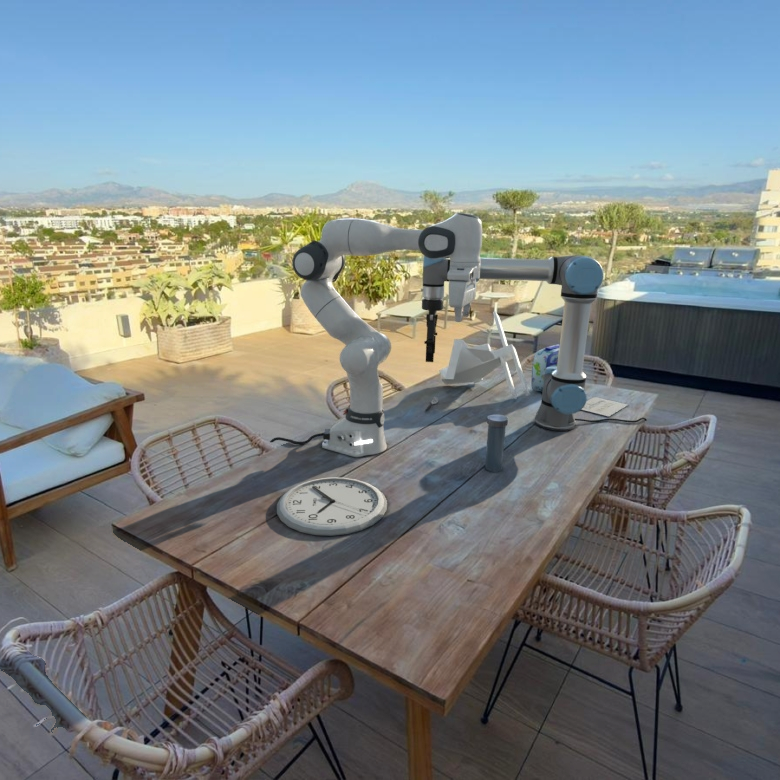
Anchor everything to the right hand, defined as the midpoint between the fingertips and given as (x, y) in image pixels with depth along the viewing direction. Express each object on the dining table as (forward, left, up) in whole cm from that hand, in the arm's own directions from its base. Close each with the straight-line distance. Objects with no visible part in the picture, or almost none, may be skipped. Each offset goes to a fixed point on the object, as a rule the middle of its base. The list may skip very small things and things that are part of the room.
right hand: (430, 357), depth 190 cm
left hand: (-10, +28, +19) cm, 35 cm away
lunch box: (-56, -61, -28) cm, 88 cm away
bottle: (-23, +30, -28) cm, 47 cm away
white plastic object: (-22, -50, -28) cm, 61 cm away
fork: (0, -26, -28) cm, 38 cm away
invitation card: (-73, -38, -28) cm, 87 cm away
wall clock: (+23, +61, -28) cm, 71 cm away
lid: (-23, +30, -11) cm, 40 cm away
